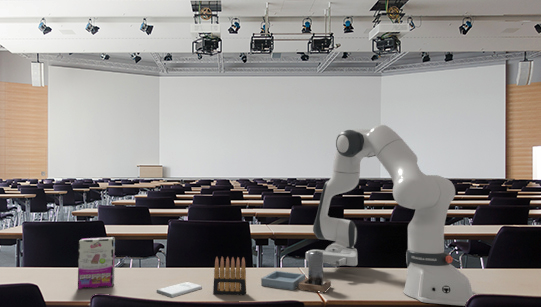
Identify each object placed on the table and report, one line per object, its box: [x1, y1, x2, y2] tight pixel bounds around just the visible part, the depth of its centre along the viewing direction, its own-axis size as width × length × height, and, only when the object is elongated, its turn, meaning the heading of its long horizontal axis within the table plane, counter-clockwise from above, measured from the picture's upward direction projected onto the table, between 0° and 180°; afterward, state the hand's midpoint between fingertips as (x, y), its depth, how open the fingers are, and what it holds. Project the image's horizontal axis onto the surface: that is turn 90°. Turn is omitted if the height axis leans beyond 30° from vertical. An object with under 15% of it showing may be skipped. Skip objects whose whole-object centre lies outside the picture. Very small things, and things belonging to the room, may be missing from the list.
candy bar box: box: [77, 236, 116, 290], centre depth 133 cm, size 11×5×16 cm, turn 105°
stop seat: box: [298, 277, 332, 293], centre depth 131 cm, size 9×8×2 cm
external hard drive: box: [156, 281, 203, 298], centre depth 128 cm, size 2×8×12 cm
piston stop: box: [307, 250, 324, 286], centre depth 132 cm, size 5×5×12 cm
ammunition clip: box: [212, 256, 247, 296], centre depth 125 cm, size 11×2×12 cm, turn 86°
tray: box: [260, 270, 306, 291], centre depth 137 cm, size 12×12×2 cm
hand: (325, 261), depth 143 cm, fingers open, 8 cm apart
